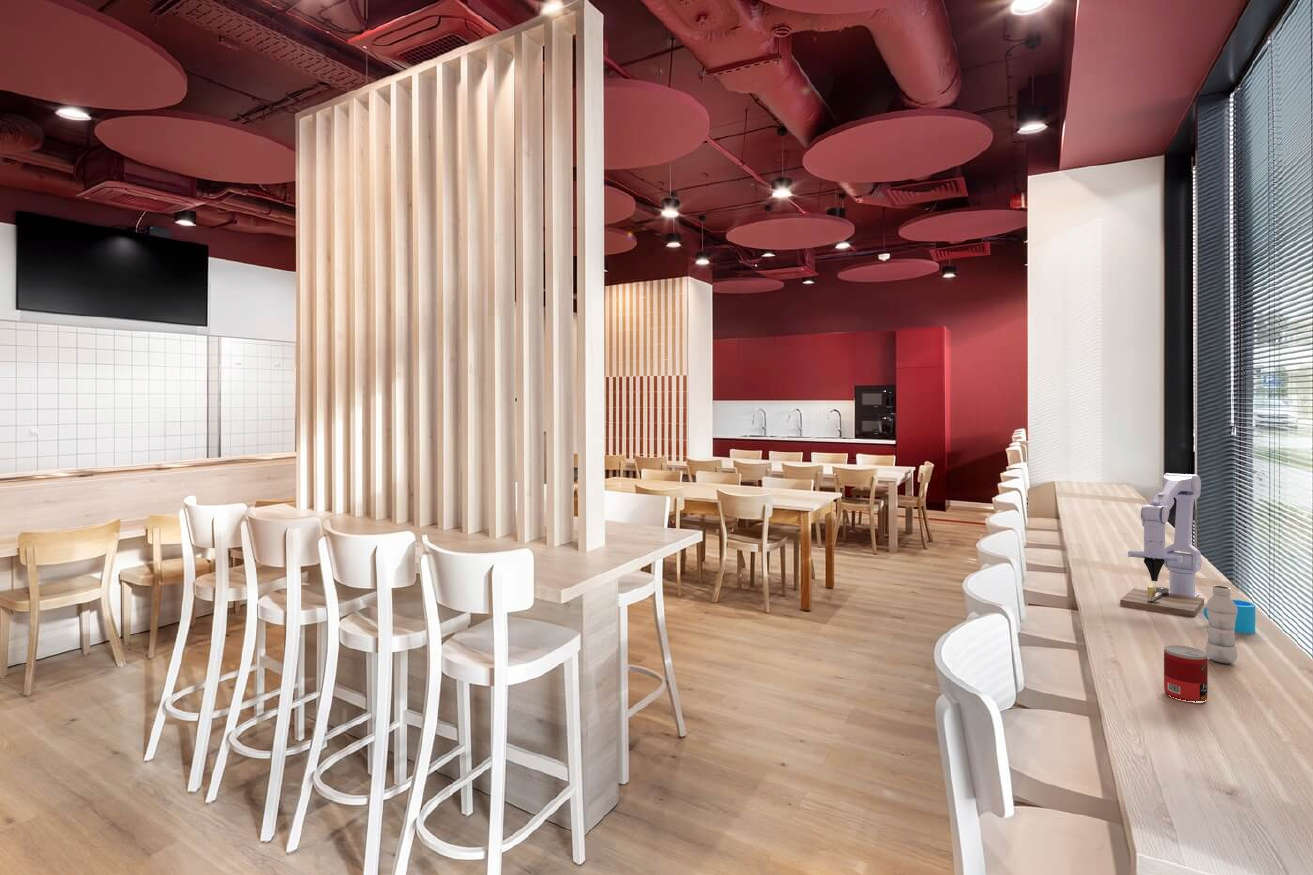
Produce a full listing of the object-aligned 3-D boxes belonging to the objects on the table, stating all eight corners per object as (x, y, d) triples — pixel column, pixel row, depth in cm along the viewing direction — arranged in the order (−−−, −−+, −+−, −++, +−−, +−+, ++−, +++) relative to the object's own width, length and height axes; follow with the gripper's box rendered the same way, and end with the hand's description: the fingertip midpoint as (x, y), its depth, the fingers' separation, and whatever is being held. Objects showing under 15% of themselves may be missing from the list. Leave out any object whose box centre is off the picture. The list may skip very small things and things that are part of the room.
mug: (1254, 628, 200) (1254, 601, 200) (1256, 635, 194) (1256, 608, 193) (1203, 621, 208) (1203, 595, 207) (1203, 628, 201) (1203, 601, 201)
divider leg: (1157, 592, 233) (1157, 578, 233) (1170, 594, 231) (1170, 580, 230) (1142, 600, 224) (1142, 586, 224) (1155, 602, 221) (1155, 588, 221)
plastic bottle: (1229, 658, 177) (1229, 584, 176) (1242, 667, 170) (1243, 591, 170) (1200, 656, 179) (1200, 583, 178) (1212, 665, 172) (1212, 589, 172)
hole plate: (1133, 593, 240) (1133, 587, 240) (1204, 604, 225) (1204, 597, 225) (1120, 605, 226) (1120, 599, 226) (1194, 617, 212) (1194, 610, 212)
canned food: (1210, 706, 149) (1210, 658, 148) (1166, 699, 153) (1166, 653, 153) (1204, 694, 155) (1204, 648, 155) (1162, 687, 159) (1162, 643, 159)
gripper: (1125, 539, 224) (1125, 579, 224) (1179, 545, 213) (1179, 586, 214) (1130, 537, 229) (1130, 575, 229) (1183, 542, 218) (1183, 582, 219)
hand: (1154, 580), depth 222 cm, fingers closed
